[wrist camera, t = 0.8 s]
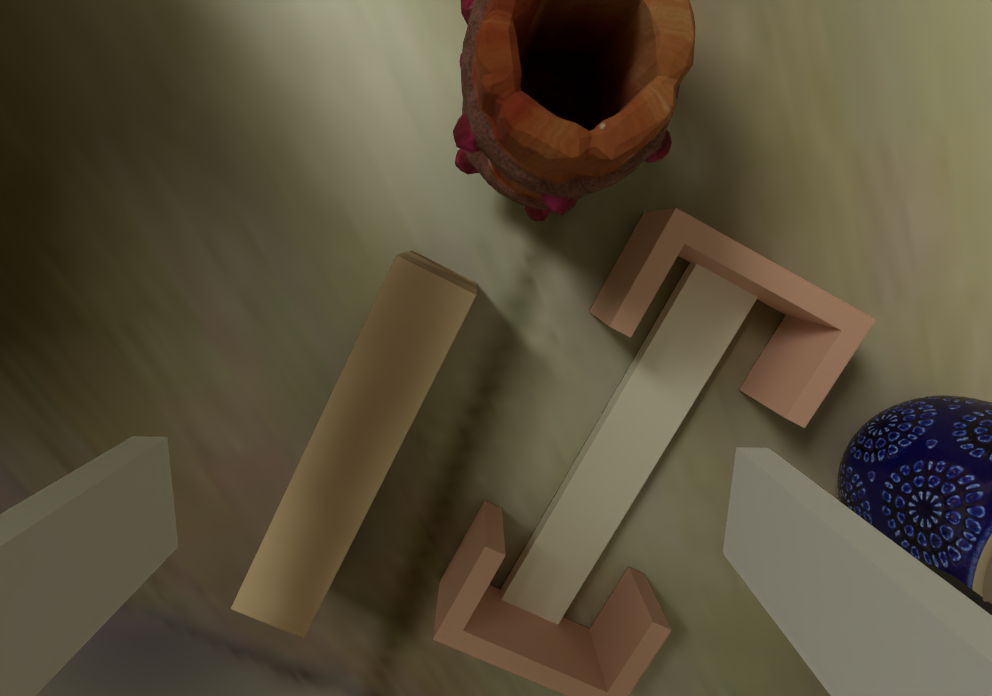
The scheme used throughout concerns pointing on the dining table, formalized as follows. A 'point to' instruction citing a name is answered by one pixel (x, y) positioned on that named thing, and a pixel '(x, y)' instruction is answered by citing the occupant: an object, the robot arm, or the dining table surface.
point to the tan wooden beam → (355, 440)
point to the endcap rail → (638, 455)
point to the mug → (568, 93)
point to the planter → (928, 483)
